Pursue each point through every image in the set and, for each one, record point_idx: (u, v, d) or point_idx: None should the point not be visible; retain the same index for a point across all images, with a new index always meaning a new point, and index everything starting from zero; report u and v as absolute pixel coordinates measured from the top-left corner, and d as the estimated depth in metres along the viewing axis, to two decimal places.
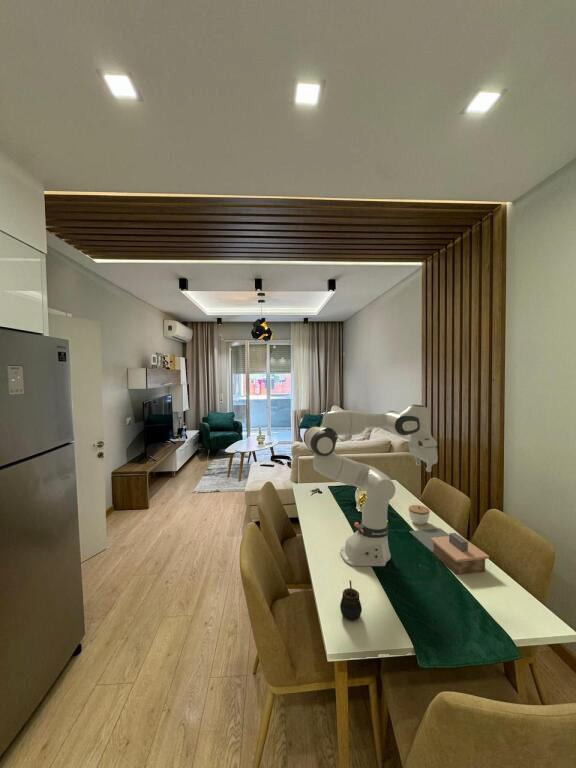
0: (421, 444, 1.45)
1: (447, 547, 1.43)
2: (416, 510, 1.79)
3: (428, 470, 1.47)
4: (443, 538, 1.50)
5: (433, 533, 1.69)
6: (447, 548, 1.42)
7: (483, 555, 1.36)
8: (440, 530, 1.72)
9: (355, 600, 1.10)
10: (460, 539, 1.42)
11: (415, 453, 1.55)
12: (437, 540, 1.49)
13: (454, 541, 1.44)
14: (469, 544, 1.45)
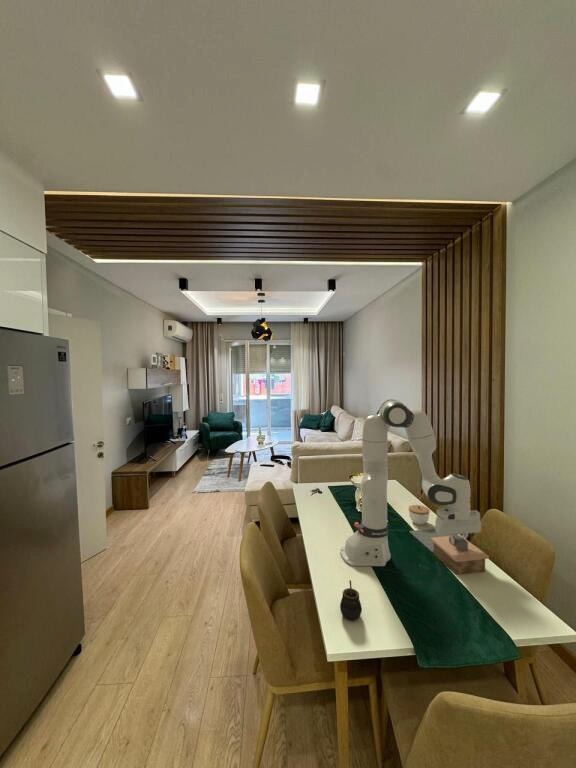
0: None
1: (447, 547, 1.43)
2: (416, 510, 1.79)
3: (451, 541, 1.43)
4: (443, 538, 1.50)
5: (433, 533, 1.69)
6: (447, 548, 1.42)
7: (483, 555, 1.36)
8: None
9: (355, 600, 1.10)
10: (460, 539, 1.42)
11: None
12: (437, 540, 1.49)
13: None
14: (469, 544, 1.45)
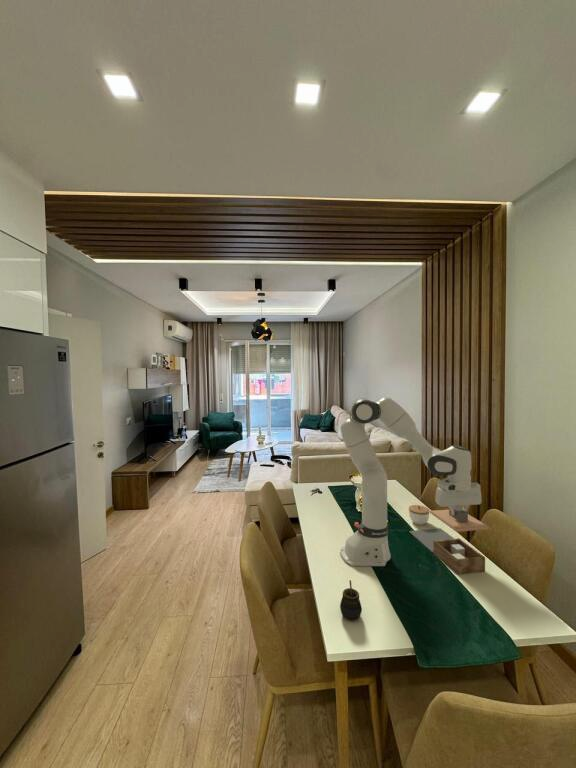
0: None
1: (447, 519, 1.42)
2: (416, 510, 1.79)
3: (451, 512, 1.43)
4: (443, 511, 1.50)
5: (433, 533, 1.69)
6: (447, 519, 1.42)
7: (483, 526, 1.36)
8: (440, 530, 1.72)
9: (355, 600, 1.10)
10: (460, 511, 1.41)
11: None
12: (437, 512, 1.49)
13: None
14: (469, 516, 1.45)
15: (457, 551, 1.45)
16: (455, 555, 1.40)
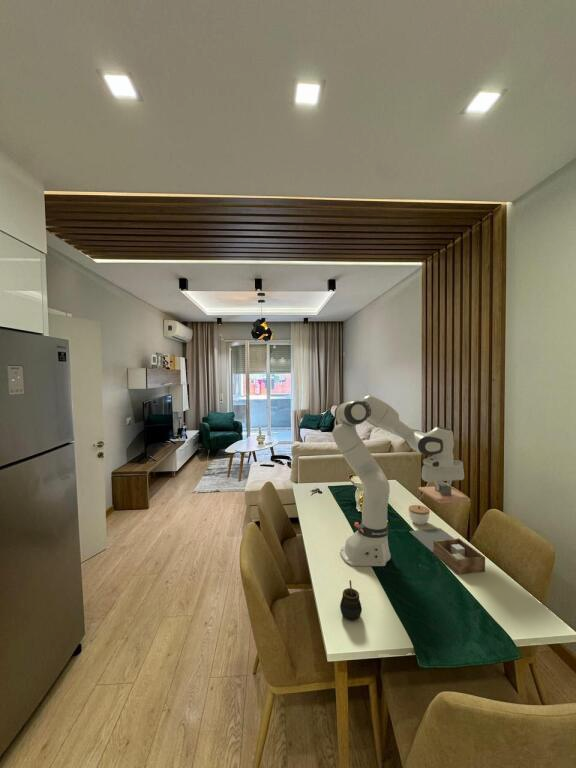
0: None
1: (432, 493, 1.56)
2: (416, 510, 1.79)
3: (436, 488, 1.57)
4: (430, 487, 1.64)
5: (433, 533, 1.69)
6: (432, 494, 1.55)
7: (465, 498, 1.50)
8: (440, 530, 1.72)
9: (355, 600, 1.10)
10: (444, 485, 1.55)
11: None
12: (424, 488, 1.62)
13: None
14: (453, 491, 1.58)
15: (457, 551, 1.45)
16: (455, 555, 1.40)
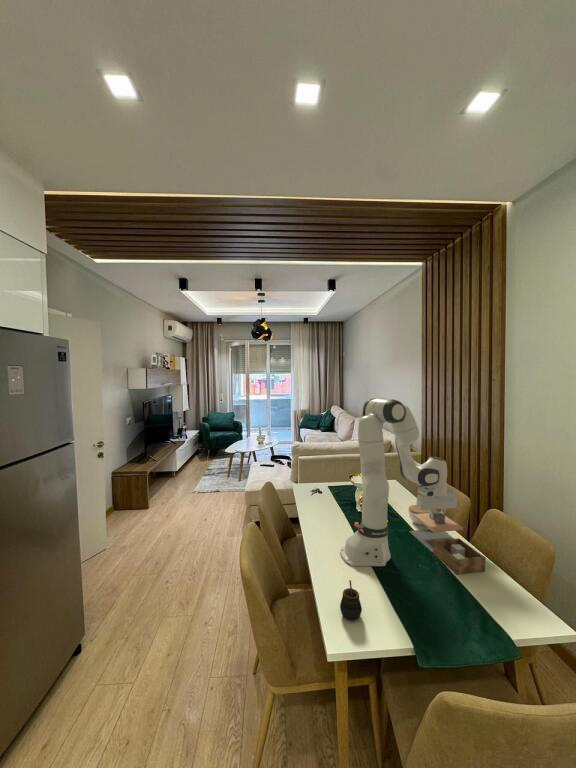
0: None
1: (427, 521, 1.62)
2: (416, 510, 1.79)
3: (431, 515, 1.62)
4: (424, 514, 1.70)
5: (433, 533, 1.69)
6: (427, 522, 1.61)
7: (458, 527, 1.55)
8: None
9: (355, 600, 1.10)
10: (438, 514, 1.61)
11: None
12: (419, 515, 1.68)
13: None
14: (447, 519, 1.64)
15: (457, 551, 1.45)
16: (455, 555, 1.40)
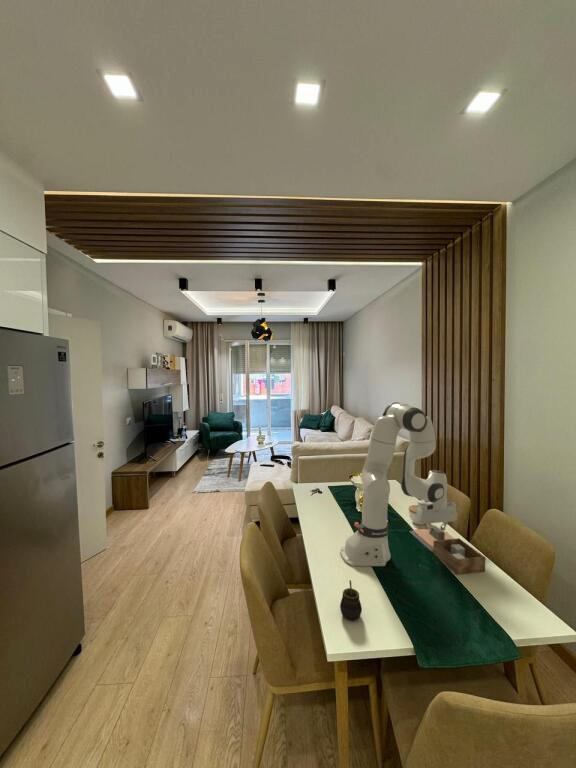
0: None
1: (427, 538, 1.62)
2: (416, 510, 1.79)
3: (428, 529, 1.62)
4: (424, 530, 1.70)
5: None
6: (427, 538, 1.61)
7: None
8: None
9: (355, 600, 1.10)
10: (438, 531, 1.61)
11: None
12: (419, 531, 1.68)
13: (433, 533, 1.63)
14: (446, 535, 1.64)
15: (457, 551, 1.45)
16: (455, 555, 1.40)
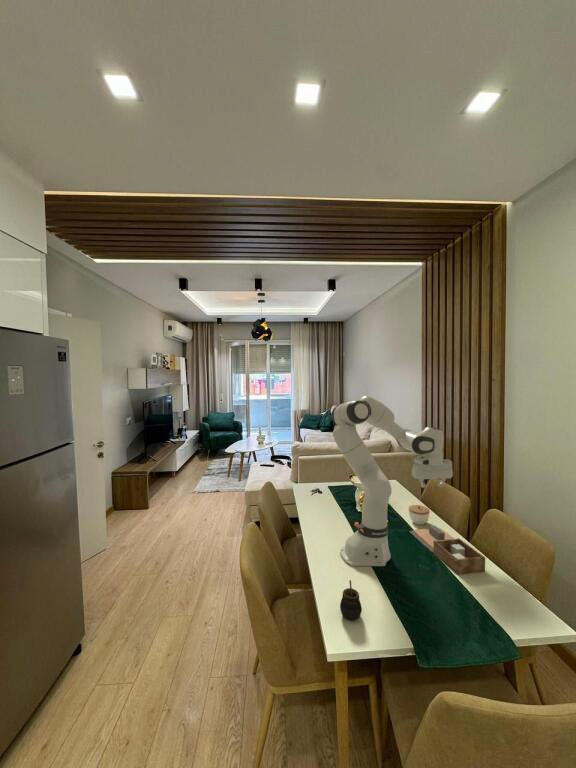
0: None
1: (427, 538, 1.62)
2: (416, 510, 1.79)
3: (421, 485, 1.63)
4: (424, 530, 1.70)
5: None
6: (427, 538, 1.61)
7: None
8: None
9: (355, 600, 1.10)
10: (438, 531, 1.61)
11: None
12: (419, 531, 1.68)
13: (433, 533, 1.63)
14: (446, 535, 1.64)
15: (457, 551, 1.45)
16: (455, 555, 1.40)
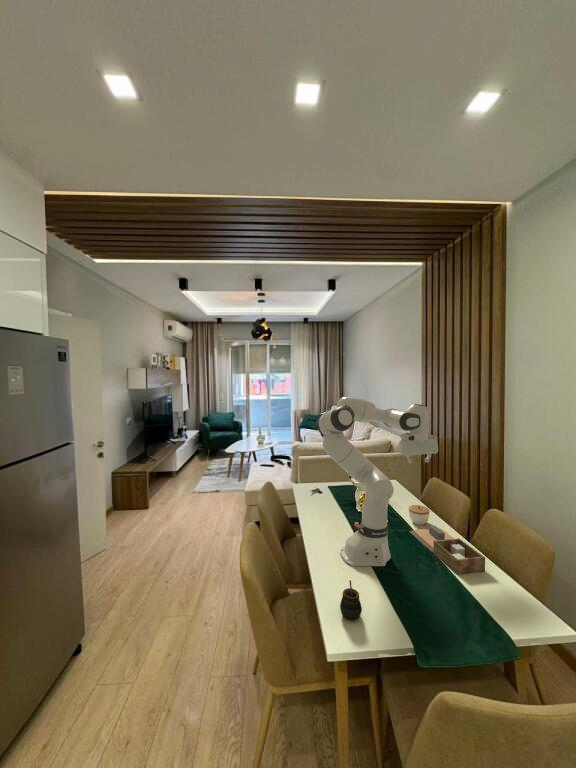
0: None
1: (427, 538, 1.62)
2: (416, 510, 1.79)
3: (408, 461, 1.67)
4: (424, 530, 1.70)
5: None
6: (427, 538, 1.61)
7: None
8: None
9: (355, 600, 1.10)
10: (438, 531, 1.61)
11: None
12: (419, 531, 1.68)
13: (433, 533, 1.63)
14: (446, 535, 1.64)
15: (457, 551, 1.45)
16: (455, 555, 1.40)
